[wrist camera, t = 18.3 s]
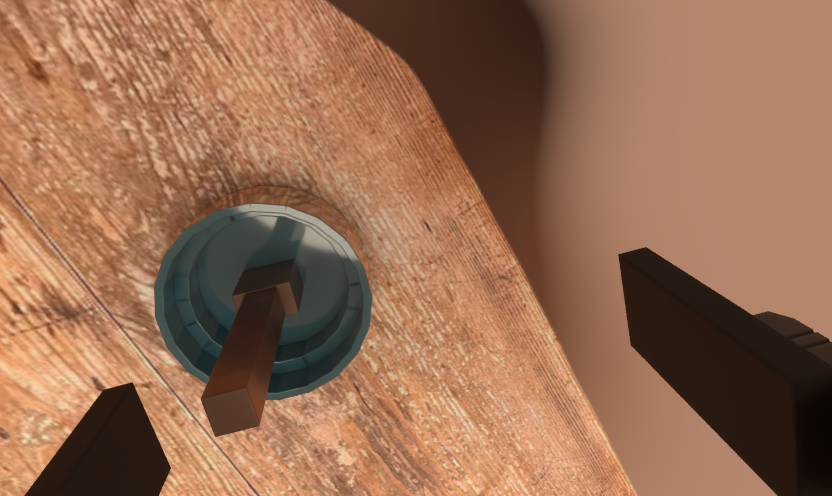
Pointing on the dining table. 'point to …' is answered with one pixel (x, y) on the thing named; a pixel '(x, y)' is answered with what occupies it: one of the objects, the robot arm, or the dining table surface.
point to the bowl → (255, 247)
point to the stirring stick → (251, 346)
